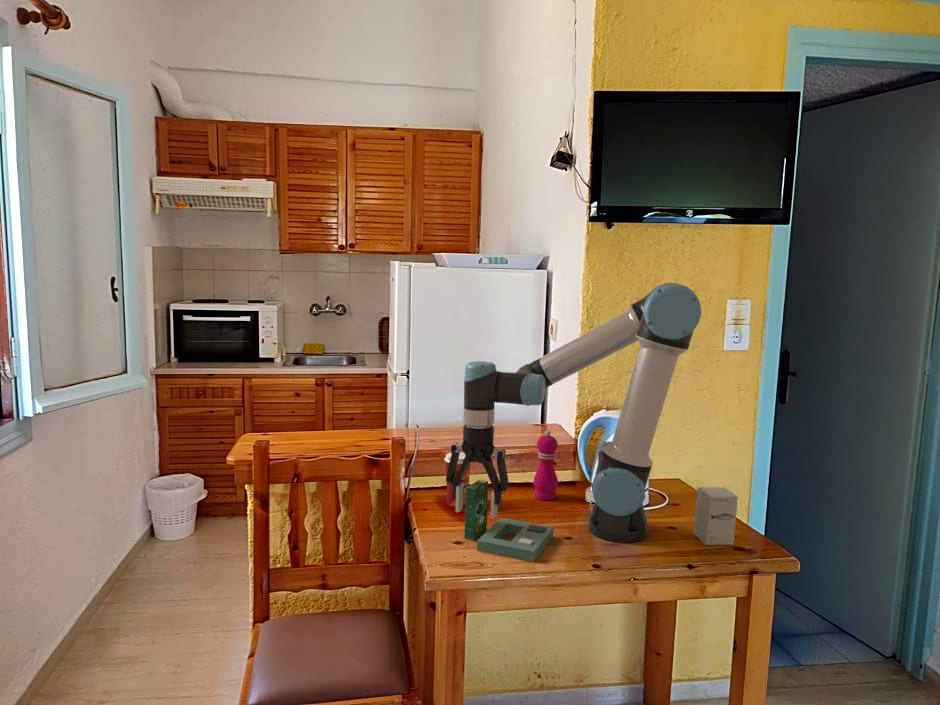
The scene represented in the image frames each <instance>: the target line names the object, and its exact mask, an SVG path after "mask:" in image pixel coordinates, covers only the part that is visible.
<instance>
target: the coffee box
mask: <svg viewBox="0 0 940 705" xmlns="http://www.w3.org/2000/svg"><path fill="white" fill-rule="evenodd" d="M488 492H489V481H488V480H484V479H478V480H476V481H474V482H473V483H471V484H469V486H468V487H466V502H465V506H464V507H465V508H464V509H465V510H464V539H465V540H469V541H474V540H475V539H478V537H479V536H481V534H484V532H487V531H488V529H487V528H488V503H489V502H488V499H489V497H488V496H489V493H488Z"/></svg>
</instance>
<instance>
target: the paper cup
mask: <svg viewBox="0 0 940 705" xmlns="http://www.w3.org/2000/svg"><path fill="white" fill-rule="evenodd" d="M465 456H466V455H465V453H464V452H463V451H461V452H460V454H459V459H458V463H457V467H456V472H455V476H454V478H455V477H456V475H457V473H458V471H459V469H460V467H461V465H462V463H463V460H464V458H465ZM450 459H451V452H448V453H446V454H445V457H444V461H445V477H446V476H447V472H448V467H449V463H450ZM471 463H472V462H471ZM471 463H470V464H469V466H468V468H467V470H466V472H465V474H464V476H463V478H462V480H461V482H460V484H463V507H465V502H466V487H468V486H469V485H470V477H471V475H470V474H471ZM445 482H446V481H445ZM446 502H447V505H448V506H451V507H455V508H456V498H453V485H452V484H451V483H448V482H446Z"/></svg>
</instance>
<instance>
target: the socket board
mask: <svg viewBox="0 0 940 705" xmlns="http://www.w3.org/2000/svg"><path fill="white" fill-rule="evenodd" d="M506 534H509V535H514V537H513V538H512V540H505V539H503V538H504V536H505V535H506ZM553 537H554V527H553V526H549V525H543V524H539V523H532V522H526V521H521V520H516V519H509V518H503V517H500V518H498V520H496V522H495V523H494V524H492V526H490V527H489V529H487V530H486V531H485V533H483V535H481V536H480V538H479V539H478V538H477V542H476V543H477V544H476V551H477V552H481V551H482V553H486V552H488V553H487V554H491V553H493V554H492V555H496V554H497V556H501V557H507V558H511V557H512V559H515V560H516V559H517V560H521V559H522V561H527V562H531V563H534V562H535V561H536V560H537V559H538V558H539V556H540V555H541V554H542V552H543V550H544V549H546V547H547V546H548V544H549V543H550V542H551V540H552V539H553Z"/></svg>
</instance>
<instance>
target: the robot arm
mask: <svg viewBox="0 0 940 705" xmlns="http://www.w3.org/2000/svg"><path fill="white" fill-rule="evenodd" d="M701 315H702V306H701V302H700V299H699V298H698V296H697V294H696V293H695V292H694V291H693V290H692V289H691V288H689V287H688V286H686V285H684V284H681V283H676V282H667V283H663V284H660V285H658V286H657V287H655V288H653V289H652V291H651V290H650V292H649V293H647V294H646V295H645V296H644V297H642V298H641V299H639V300H637V301H636V302H635V303H632V304H630V305H629V308H628V311H625V312H624V313H622V314H620V315H618V316H617V317H614V318H613V319H611V320H609V321H607V322H605V323H603V324H601V325H599V326H598V327H595V328H594V329H592V330H590V331H588V332H586V333H584V334H582V335H580V336H578V337H577V338H574V339H573V340H571V341H570V342H567V343H565V344H563V345H562V346H560V347H557V348H555V349H554V350H552V351H550V352H548V353H547V354H545V355H543V356H541V357H540V358H537V359H535V360H534V361H532V362H530V363H527V364H525V365H522V366H521V367H520V368H519V369H518V370H517V371H516V372H509V371H507V372H506V371H498V370H497V368H496V364H495V363H494V362H491V361H484V360H483V361H471V362H468V363H467V364H466V365H465V366H464V367H465V369H464V380H463V382H464V383H463V396H464V397H463V419H462V422H463V424H464V425H463V426H462V428H463V429H462V430H463V432H462V443H458V442H456V443H454V444H452V445H450V453H451V459H450V463H449V467H448V472H447V476H446V475H445V482H448V483H451V484H452V485H453V498H456V507H455V512H456V513H459V512H461V511H462V510H463V507H464V506H463V484H460V482H461V480H462V478H463V476H464V474H465V472H466V470H467V468H468V466H469V464H470V463H479V464H481V465H482V466H483V468H484V470H485V471H486V474H487V477H488V479H489V481H490V483H491V486H492V489H493V490H492V491H491V493H490V519H493V520H494V519H495V518H496V517H497V516H498V506H499V505H501V503H502V492H506V491H507V490H508V489H509V488H510V483H509V478H508V477H509V476H508V472H507V466H506V465H507V464H506V459H505V458H506V452H507V450H506V449H504V448H503V449H499V448H495V446H494V445H495V444H494V439H495V438H494V434H495V432H494V431H495V427H494V426H493V424H495V404H496V403H498V404H510V405H522V406H527V407H529V406H541V405H542V404H543V403H544V400H545V395H546V388H549V387H551V386H552V385H554V384H556V383H558V382H560V381H562V380H565V379H566V378H568V377H570V376H573V374H576V373H578V372H580V371H582V370H583V369H586V368H587V367H590V366H592V365H594V364H595V363H597V362H600V361H601V360H603V359H605V358H607V357H609V356H611V355H613V354H616V353H617V352H619V351H621V350H622V349H625V348H627V347H629V346H631V345H633V344H635V343H637V342H639V349H638V353H637V356H636V359H635V363H634V367H633V370H632V373H631V376H630V380H629V383H628V387H627V390H626V394H625V396H624V401H623V403H622V407H621V410H620V414H619V417H618V420H617V425H616V428H615V430H614V434H613V438H612V440H611V441H603V442H601V443H600V444H599V445H598V450H597V454H598V455H597V456H598V457H597V467H596V470H595V475H594V478H593V480H592V483H591V486H592V493H593V497H594V500H595V504H594V506H592V509H591V512H590V513H589V517H588V520H587V530H588V531H589V532H590V533H591V534H592V535H593V536H595V537H598V538H600V539H602V540H606V541H611V542H618V543H634V542H639V541H643V540H645V539H646V538H647V537H648V536H649V522H648V519H647V515H646V512H645V508H644V500H645V498H646V487H647V483H648V479H649V478H650V473H651V472H652V471H651V470H652V466H653V464H654V463H653V462H654V461H652V458H651V457H650V456H649V455H650V450H651V447H652V443H653V441H654V438H655V433H656V431H657V429H658V428H657V427H658V424H659V421H660V417H661V414H662V410H663V408H664V404H665V402H666V397H667V395H668V392H669V389H670V385H671V382H672V379H673V378H672V377H673V375H674V372H675V368H676V366H677V362H678V358H679V356H681V355H682V354H684V353H685V352H687V351H689V347H690V344H691V342H692V337H693V334H694V331H695V329H696V328H697V327H698V324H699V323H700V321H701V320H700V319H701V317H702V316H701ZM460 452H463V453H465V455H466V456H465V458H464V460H463V463H462V465H461V467H460V469H459V471H458V473H457V475H456V477H455V478H454V476H455V472H456V467H457V463H458V459H459V454H460ZM493 454H494V458H495V459H496V464H497V465H496V466H497V471H496V469H495V466H494V462H493V459H492V455H493ZM470 465H471V464H470ZM497 472H498V474H497Z"/></svg>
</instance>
